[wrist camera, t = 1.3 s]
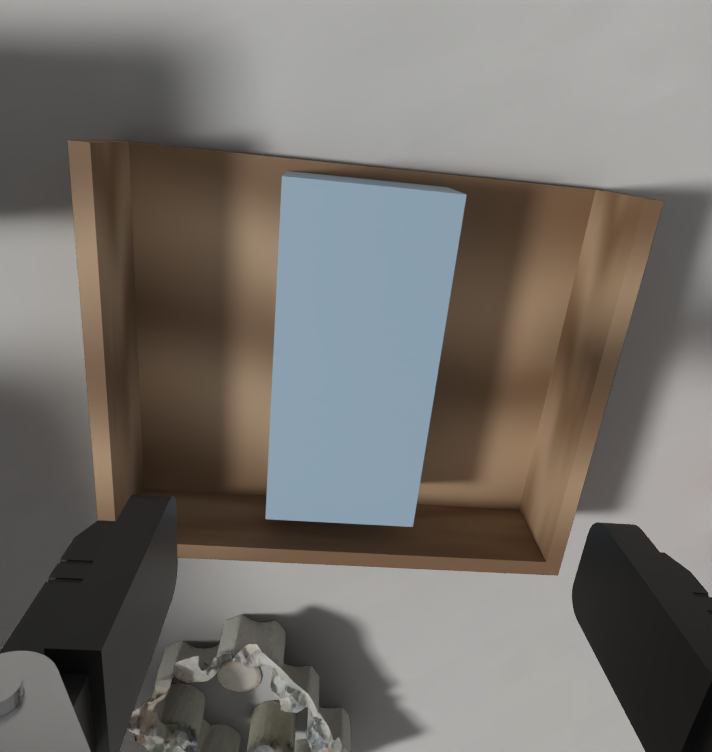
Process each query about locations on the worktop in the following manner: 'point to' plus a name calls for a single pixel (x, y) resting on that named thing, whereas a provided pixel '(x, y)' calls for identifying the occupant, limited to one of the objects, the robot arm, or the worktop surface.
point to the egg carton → (242, 673)
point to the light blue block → (357, 344)
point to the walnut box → (256, 344)
